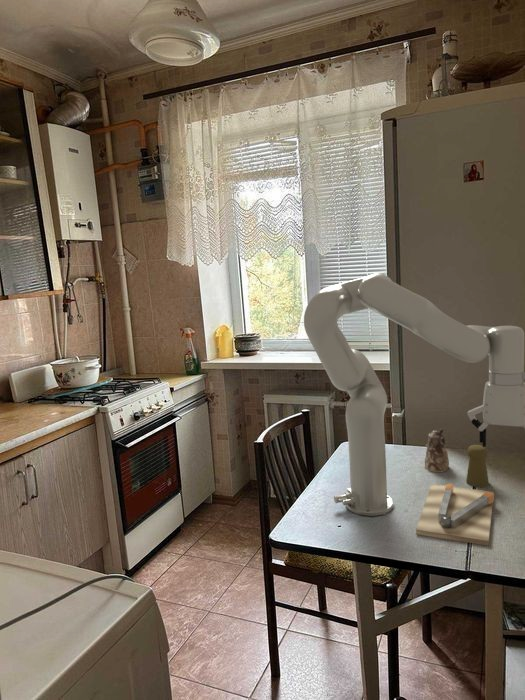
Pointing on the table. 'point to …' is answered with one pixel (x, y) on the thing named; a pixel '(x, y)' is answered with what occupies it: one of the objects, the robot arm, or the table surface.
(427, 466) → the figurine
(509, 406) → the robot arm
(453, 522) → the tongs arm
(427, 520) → the board
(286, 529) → the table surface
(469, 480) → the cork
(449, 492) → the arm
